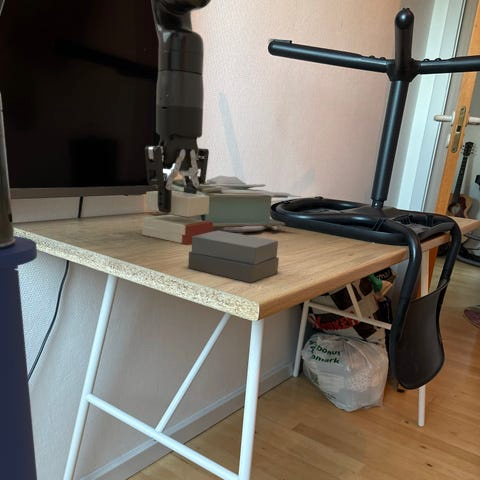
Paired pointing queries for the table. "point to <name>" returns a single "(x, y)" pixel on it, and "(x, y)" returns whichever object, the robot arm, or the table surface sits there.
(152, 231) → the white stack
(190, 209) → the white book
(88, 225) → the table surface
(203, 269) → the grey stack
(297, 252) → the table surface
